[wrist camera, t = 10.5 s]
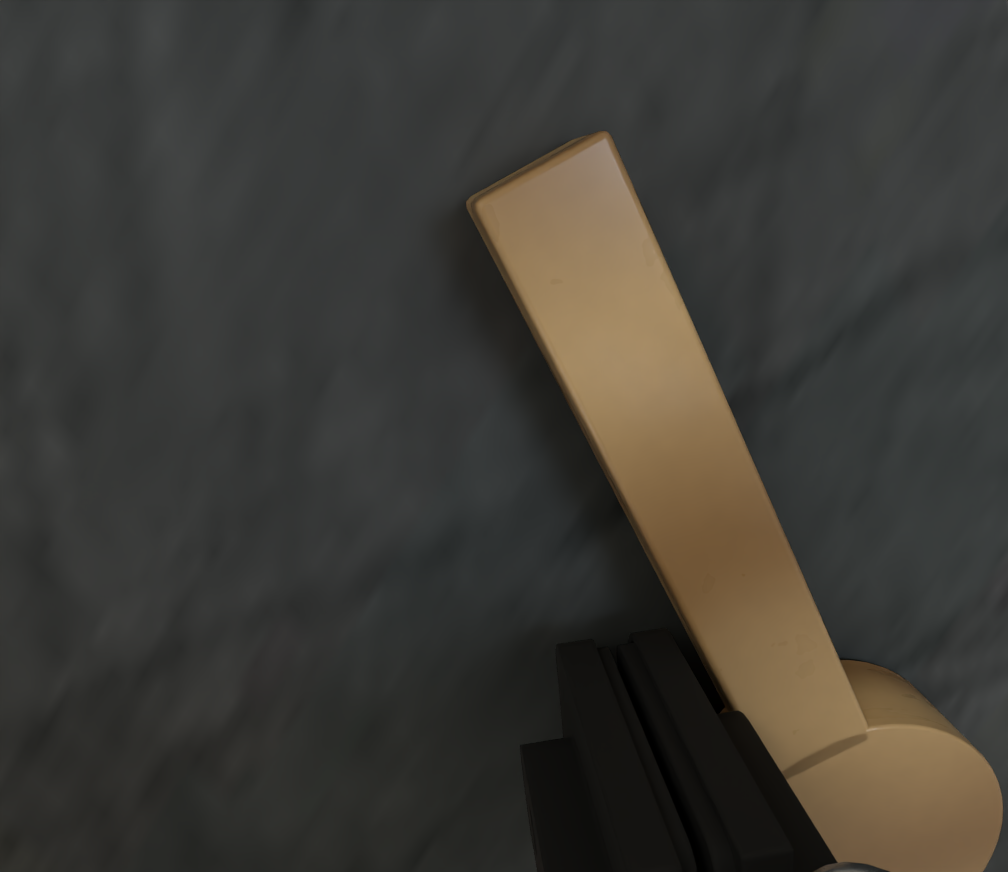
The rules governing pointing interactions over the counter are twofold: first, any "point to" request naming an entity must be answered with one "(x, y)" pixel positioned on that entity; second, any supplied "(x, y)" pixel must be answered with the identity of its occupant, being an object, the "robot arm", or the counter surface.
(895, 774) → the spoon
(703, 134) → the counter surface
